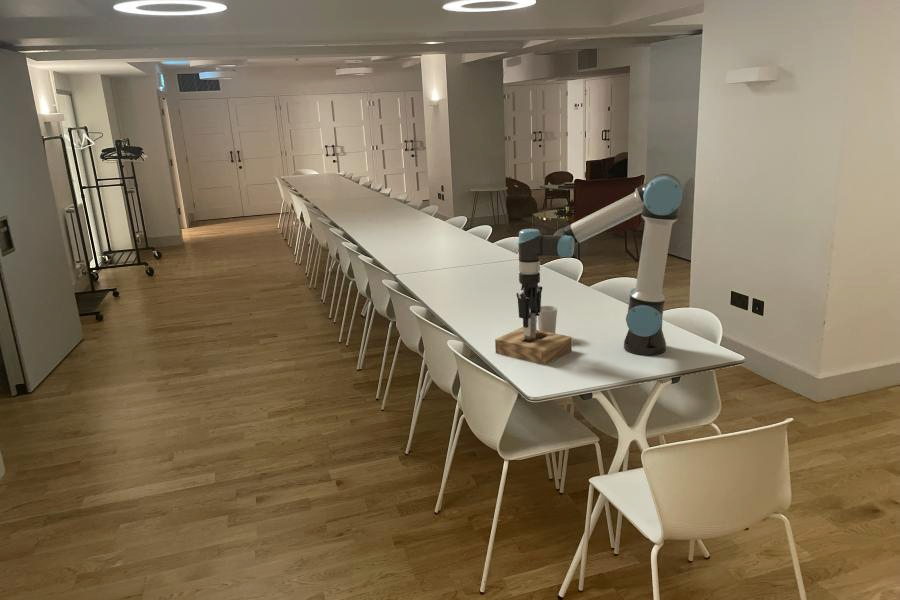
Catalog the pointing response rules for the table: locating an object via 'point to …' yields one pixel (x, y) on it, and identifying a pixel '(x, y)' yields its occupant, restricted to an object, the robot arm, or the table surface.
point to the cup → (547, 319)
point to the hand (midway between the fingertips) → (530, 333)
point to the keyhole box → (534, 346)
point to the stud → (533, 329)
